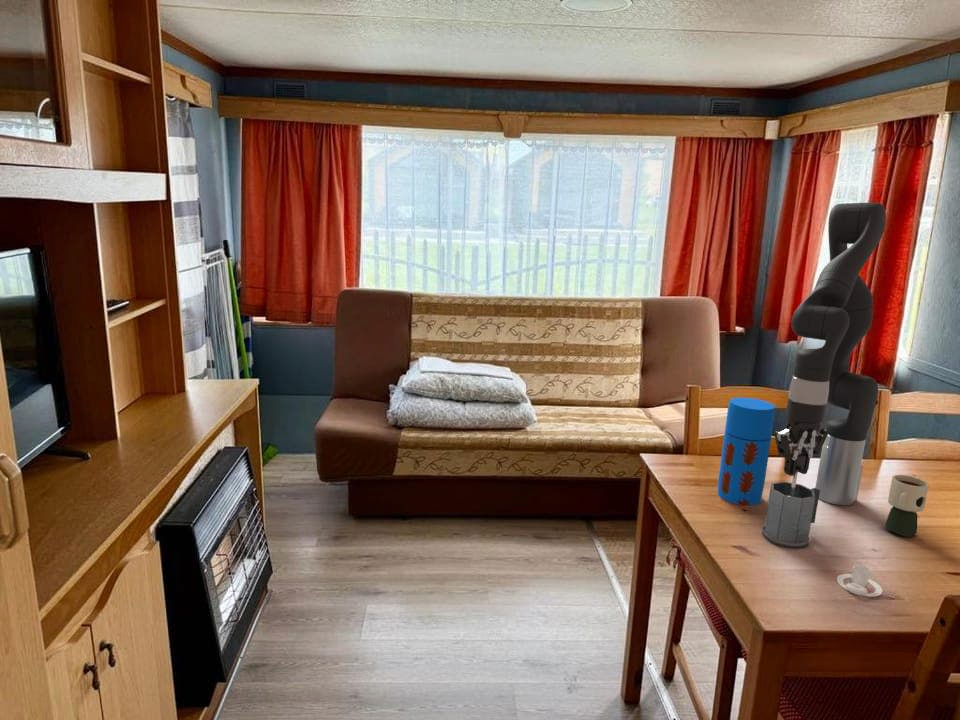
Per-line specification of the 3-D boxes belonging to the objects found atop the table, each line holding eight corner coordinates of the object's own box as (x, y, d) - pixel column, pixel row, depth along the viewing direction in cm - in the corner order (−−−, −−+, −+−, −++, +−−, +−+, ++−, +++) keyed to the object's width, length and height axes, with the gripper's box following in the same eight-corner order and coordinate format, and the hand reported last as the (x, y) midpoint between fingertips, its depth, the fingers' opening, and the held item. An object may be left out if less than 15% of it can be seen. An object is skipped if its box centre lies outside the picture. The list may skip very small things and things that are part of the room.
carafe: (793, 524, 156) (801, 477, 153) (827, 543, 147) (836, 494, 144) (752, 531, 151) (759, 484, 148) (785, 551, 142) (793, 501, 140)
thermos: (765, 508, 163) (780, 412, 158) (720, 502, 165) (733, 407, 160) (756, 490, 174) (770, 399, 168) (714, 485, 176) (726, 395, 170)
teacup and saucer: (860, 603, 125) (864, 583, 124) (824, 581, 132) (827, 562, 132) (891, 594, 129) (895, 575, 128) (854, 573, 136) (858, 555, 135)
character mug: (912, 546, 147) (923, 492, 144) (876, 534, 152) (886, 482, 149) (922, 530, 155) (933, 479, 152) (888, 520, 160) (898, 469, 157)
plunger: (788, 507, 152) (797, 447, 148) (812, 520, 145) (823, 458, 142) (765, 510, 149) (774, 450, 146) (789, 524, 143) (799, 461, 140)
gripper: (817, 391, 147) (805, 464, 151) (769, 395, 142) (757, 470, 146) (846, 401, 140) (833, 476, 144) (796, 405, 135) (784, 483, 139)
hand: (795, 473), depth 145 cm, fingers closed on plunger, 3 cm apart
